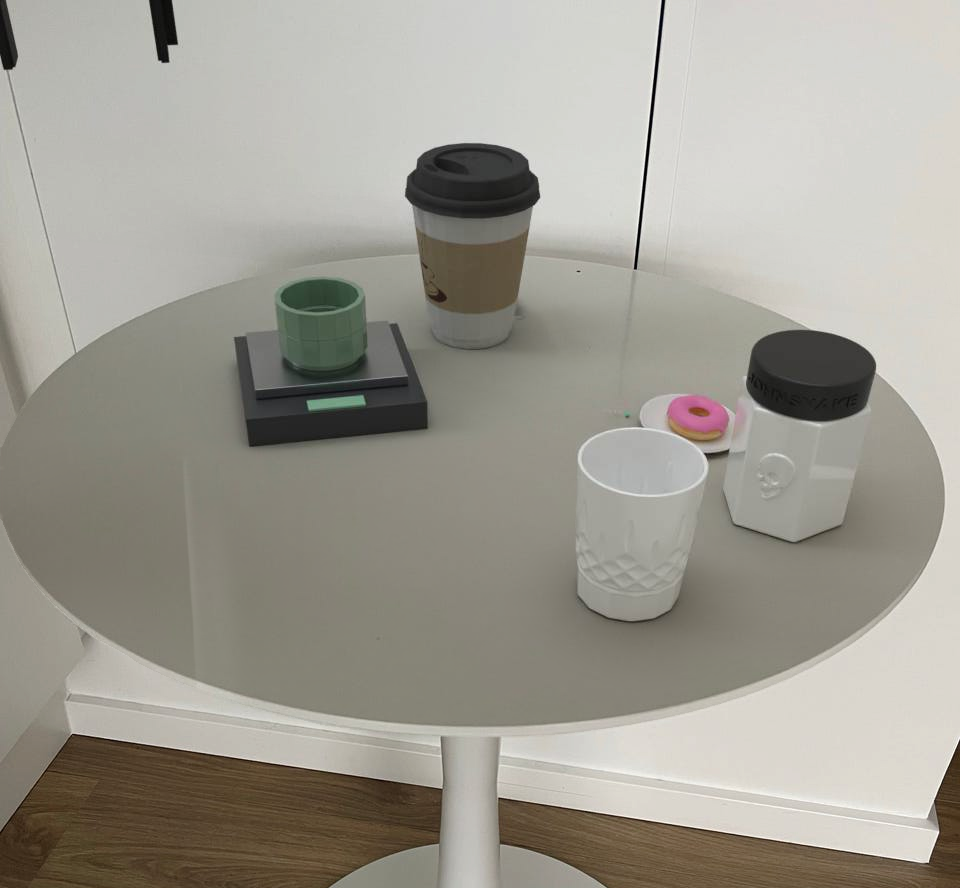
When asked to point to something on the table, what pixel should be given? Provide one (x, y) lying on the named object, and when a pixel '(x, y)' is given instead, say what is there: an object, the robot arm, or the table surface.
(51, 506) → the table surface
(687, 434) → the donut
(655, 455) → the white cup
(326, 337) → the bowl
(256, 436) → the scale
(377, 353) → the scale platform
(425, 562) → the table surface
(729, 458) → the jar
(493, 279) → the coffee cup
